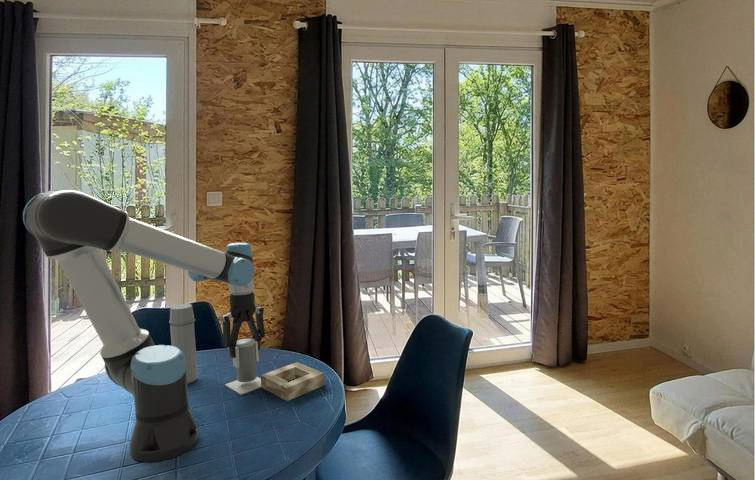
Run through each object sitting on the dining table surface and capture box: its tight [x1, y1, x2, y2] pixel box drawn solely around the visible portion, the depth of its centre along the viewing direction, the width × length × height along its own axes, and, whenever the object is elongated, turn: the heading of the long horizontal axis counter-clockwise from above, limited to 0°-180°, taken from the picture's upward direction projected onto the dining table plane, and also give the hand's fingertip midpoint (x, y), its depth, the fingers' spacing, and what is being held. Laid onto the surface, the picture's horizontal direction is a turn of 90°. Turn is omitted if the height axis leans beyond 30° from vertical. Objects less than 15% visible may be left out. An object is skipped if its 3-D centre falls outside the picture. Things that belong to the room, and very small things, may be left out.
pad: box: [224, 376, 262, 396], centre depth 142 cm, size 10×10×1 cm
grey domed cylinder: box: [235, 338, 258, 382], centre depth 141 cm, size 6×6×12 cm
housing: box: [260, 361, 325, 402], centre depth 140 cm, size 14×14×4 cm
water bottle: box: [168, 303, 199, 385], centre depth 145 cm, size 9×8×25 cm
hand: (246, 363), depth 141 cm, fingers closed on grey domed cylinder, 6 cm apart
